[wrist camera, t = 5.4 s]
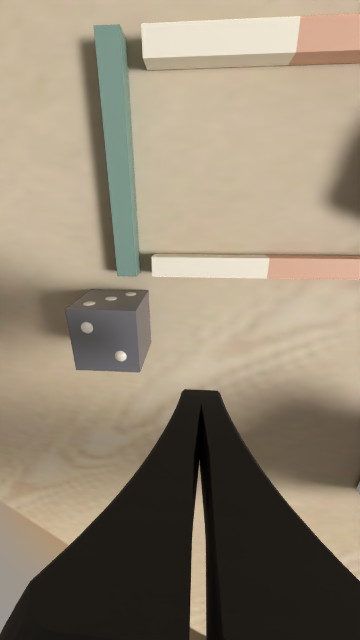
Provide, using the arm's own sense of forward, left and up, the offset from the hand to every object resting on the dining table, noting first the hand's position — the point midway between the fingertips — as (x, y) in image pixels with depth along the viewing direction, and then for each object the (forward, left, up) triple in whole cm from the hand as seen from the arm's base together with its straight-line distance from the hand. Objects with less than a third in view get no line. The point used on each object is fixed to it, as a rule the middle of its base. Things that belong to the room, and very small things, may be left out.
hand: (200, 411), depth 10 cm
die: (0, +6, -10) cm, 11 cm away
